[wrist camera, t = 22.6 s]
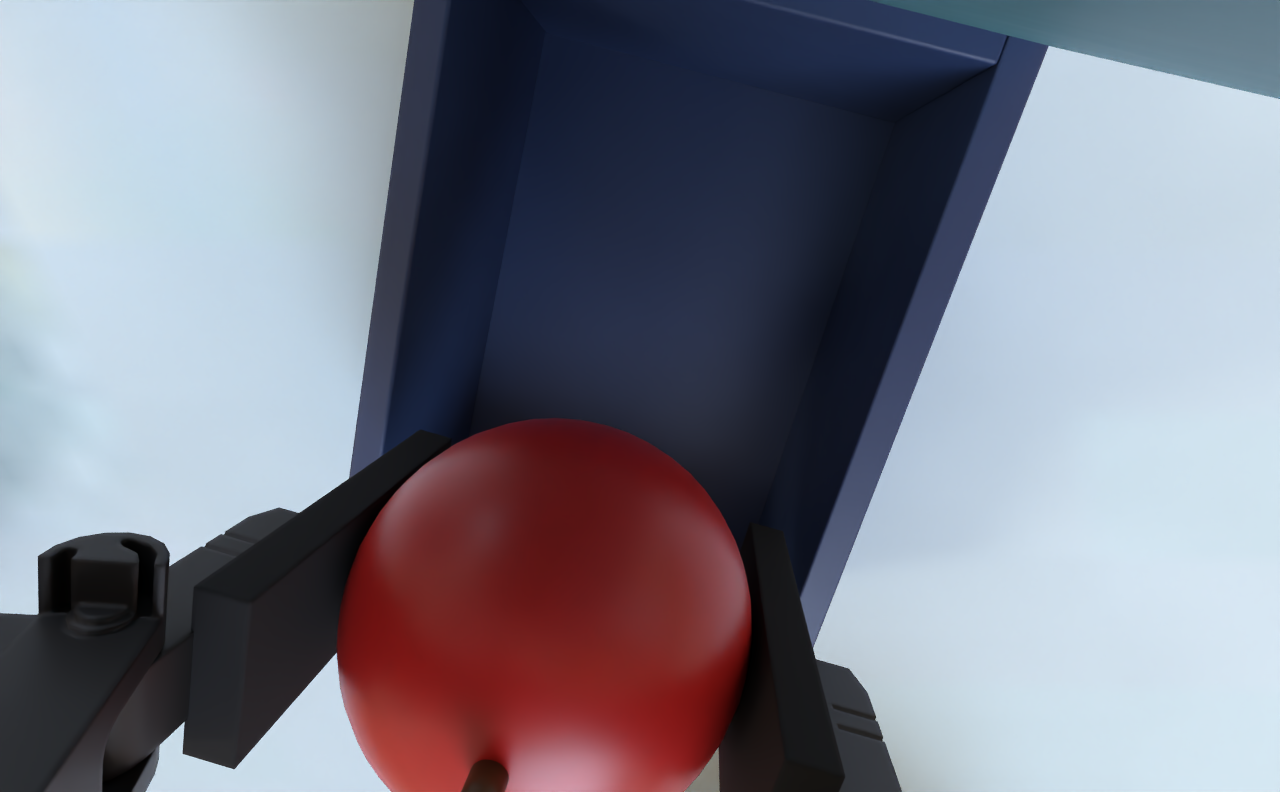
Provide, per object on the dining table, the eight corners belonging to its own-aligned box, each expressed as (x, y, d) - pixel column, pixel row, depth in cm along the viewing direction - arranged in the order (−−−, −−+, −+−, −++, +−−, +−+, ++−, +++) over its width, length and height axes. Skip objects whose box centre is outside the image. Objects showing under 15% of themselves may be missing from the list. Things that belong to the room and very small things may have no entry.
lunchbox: (753, 587, 24) (775, 745, 17) (443, 499, 25) (328, 616, 17) (921, 107, 20) (1056, 30, 12) (533, 7, 20) (429, -127, 12)
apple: (421, 610, 16) (151, 972, 8) (470, 342, 14) (178, 482, 6) (693, 688, 15) (681, 1136, 8) (780, 427, 14) (878, 680, 6)
